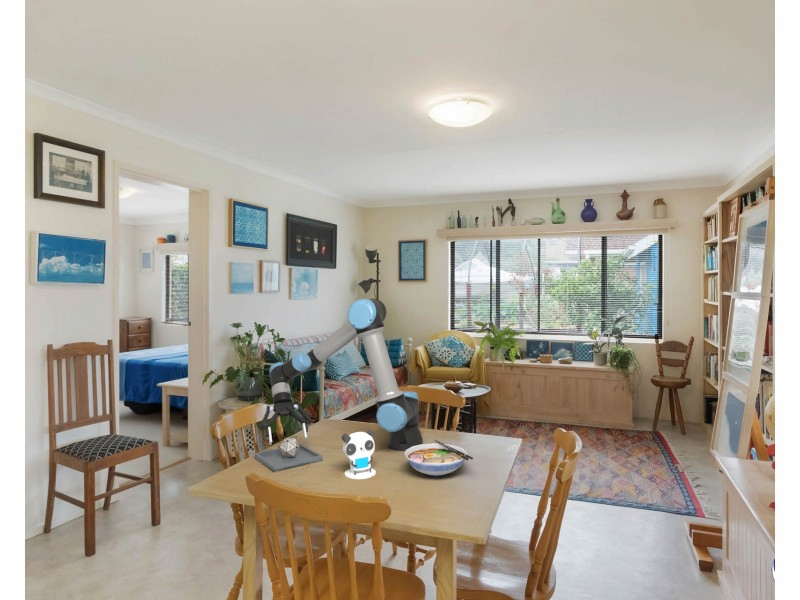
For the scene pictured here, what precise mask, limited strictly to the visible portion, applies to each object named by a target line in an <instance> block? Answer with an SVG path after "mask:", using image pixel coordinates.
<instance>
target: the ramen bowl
mask: <svg viewBox="0 0 800 600" xmlns="http://www.w3.org/2000/svg"><path fill="white" fill-rule="evenodd" d="M433 441H434V442H435V443H434V442H432V443H423V444H421V445H416V446H412V447H410V448H408V449H406V450H404V453H403V455H404V456H405V458H406V460H407V461H408V463H409V464H410V466H411V467H412V468H413V469H414V470H416V471H417V472H420V473H421V474H425V475H428V476H431V477H441V476H442V477H443V476H445V475H446V474H447V475H448V474H450V473H451V474H452V473H454V472H455V471H456V470H457V469H459V468H460V467H461V466H462V465H463V463H464V462H465V460H466V461H469V459H470V460H474V459H473V458H474V457H472V456H471V455H469V454H468V451H466V450H465V449H464V448H463V447H460V446H458V445H455V444H449V443H443V442H440V441H438V440H435V439H434V440H433Z"/></svg>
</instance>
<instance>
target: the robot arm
mask: <svg viewBox="0 0 800 600" xmlns="http://www.w3.org/2000/svg"><path fill="white" fill-rule="evenodd" d="M387 312H388V311H387V308H386V305H385V304H384V303H383V302H382V301H381V300H379V299H378V298H362V299H361V298H360V299H358V300H355V301H354V302H352V303H351V305H350V306H349V308H348V310H347V320H348V322H347V323H345V324H344V325H343V326H341V327H340V328H339V329H337V330H336V331H335V332H334V333H332V334H331V335H329V336H328V337H327V338H325V339H324V340H322V341H321V342H320V343H319V344H317V345H316V346H314V348H312V349H311V350H309V351H308V352H307V353H304V352H302V351H301V352H300V353H297V354H295V355H294V356H293V357H292V358H290V359H289V360H286V362H281V361H280V362H279V361H278V362H276V363H275V362H274V363H273V364H271V365H270V367H269V378H270V385H271V393H272V394H271V395H272V400H273V401H272V402H273V406H270V405H267V406H266V410H265V414H264V416H263V418H262V420H261V423H260V424H259V430H264V435H265V437H266V438H268V443H269V444H268V445H269V446H273V444H272V443H273V439H272V438H273V437H272V429H271V427H272V425H273V423H275V421H276V420H277V419H278V417H280V418H282V417H289V416H290V417H292V418H294V419H295V420H297V422H299V423H300V424H301V425H302V426H301V429H302V435H303V441H304V442H306V441H307V439H308V434H307V433H308V431H309V427H308V426H309V425H311V424H312V418H311V417H310V416H309V415H308V413H307V412H306V411H305V410H304V408H303V406H302V405H301V403H300V402H297V404H294V403H293V399H292V394H291V387H290V381H292V380H293V379H295V378H296V377H298V376H299V375H300V374H303V373H306V372H310V371H312V370H316V369H317V368H319V367H321V365H322V364H323V363H324V362H325V361H326V360H328V359H330V358H331V357H332V356H333V355H335V354H336V353H338V352H339V351H340V350H341V349H343V348H344V347H346V346H347V345H349V343H351V342H353V341H354V340H355V339H357V337H359V338H361V339H362V343H363V347H364V352H365V354H366V358H367V362H368V364H369V368H370V372H371V374H372V375H371V376H372V379H373V382H374V385H375V388H376V392H377V397H376V399H375V403H376V406H377V412H376V421H377V424H378V425H379V426H380V428H382V429H383V430H385V431H386V432H389V435H388V438H387V447H388V448H389V449H392V450H396V451H406V449H408V448H410V447H412V446H416V445H421V444H424V439H423V436H422V433H421V430H420V427H419V426H420V425H419V395H418V393H417V392H416V391H408V390H400V389H399V385H398V383H397V382H398V381H397V380H396V374H395V372H394V369H393V365H392V362H391V358H390V355H389V351H388V348H387V345H386V342H385V338H384V334H383V332H384V329H385V324H384V321H385V319H386V317H387ZM296 411H297V412H298V413H297V412H296ZM272 412H274V414H273V415H272V416H271V417H270V419H269V420H268V418H269V416H270V413H272ZM267 420H268V421H267Z"/></svg>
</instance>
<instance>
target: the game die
mask: <svg viewBox="0 0 800 600" xmlns="http://www.w3.org/2000/svg"><path fill="white" fill-rule="evenodd" d="M283 438H284V439H283V440H282V442H281V444H280V445H278V446H277V448H280V450H281V452H282V455H283V457H282V458H284V457H294V458H295V455H296V453H297V452H298V450H299V448H301V447H299V445H298V444H299V442H298V441H297V438H298V436H295V437H286V436H283Z"/></svg>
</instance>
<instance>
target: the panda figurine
mask: <svg viewBox="0 0 800 600" xmlns="http://www.w3.org/2000/svg"><path fill="white" fill-rule="evenodd" d="M375 435H376V434H375V432H374V431H373V430H370V429H367V430H366V432H365V431H357V432H353V433H350V434H347V433H343V434H342V435H341V440H342V441H343V444H342V452H343V453H344V455H345V457H347V458H348V459H349V467H350V468H349V469H346V470H345V471H344V476H345V477H346V478H348V479H353V480H365V479H369V478H373V477H374V476H375V475H376V474H377V472H376V470H375V469H374V468H372V467H371V463H372V462H373V460H374V459H373V456H372V455H373V453H374V452H375V449H376V448H375V447H376V445H375V441H374V438H375ZM372 476H373V477H372Z"/></svg>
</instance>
